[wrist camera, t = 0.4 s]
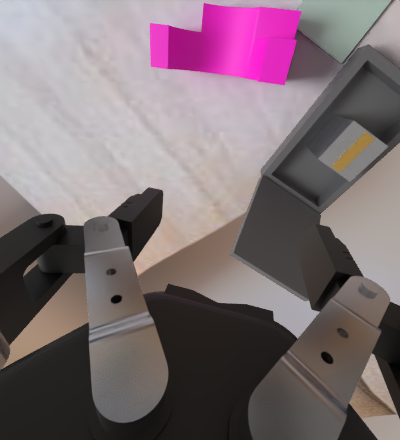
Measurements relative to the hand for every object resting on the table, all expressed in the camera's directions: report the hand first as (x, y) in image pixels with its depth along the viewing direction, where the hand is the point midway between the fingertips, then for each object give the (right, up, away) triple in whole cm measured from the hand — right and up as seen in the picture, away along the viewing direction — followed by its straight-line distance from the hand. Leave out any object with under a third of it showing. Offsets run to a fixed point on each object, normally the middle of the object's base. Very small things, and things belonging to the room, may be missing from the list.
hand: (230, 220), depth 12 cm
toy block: (+2, +23, +17) cm, 28 cm away
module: (+17, +11, +19) cm, 28 cm away
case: (+16, +9, +22) cm, 28 cm away
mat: (+14, +24, +13) cm, 31 cm away
